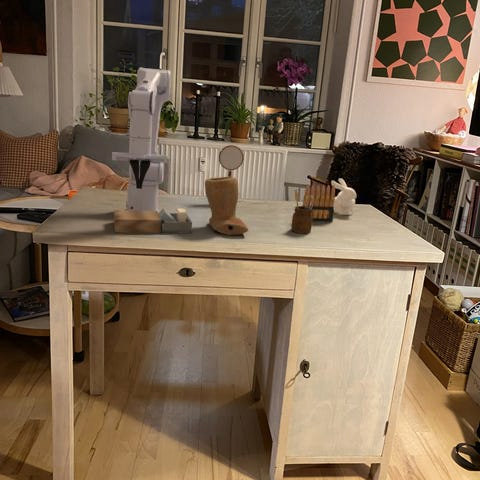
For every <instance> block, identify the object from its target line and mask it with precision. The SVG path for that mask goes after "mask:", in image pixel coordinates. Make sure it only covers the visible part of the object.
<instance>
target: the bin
mask: <svg viewBox="0 0 480 480" xmlns="http://www.w3.org/2000/svg"><path fill="white" fill-rule="evenodd" d="M168 213H169V214H170V215H171V216H173V217H174V218H175V220H176V222H166V221H163V220H162V219H161V233H162V234H192V230H193V221H192V220H191V218H190V217H189V215H188V213H187V214H186V222H177V212H168Z"/></svg>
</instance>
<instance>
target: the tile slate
mask: <svg viewBox="0 0 480 480" xmlns="http://www.w3.org/2000/svg"><path fill="white" fill-rule="evenodd" d="M169 213H170V212H168V211H167V210H166V209H165V208H162V209H161V210H159V216H160V218H161V219H162V220H163V221H166V222H176V220H175V218H174V217H173V216H171V215H170V214H169Z"/></svg>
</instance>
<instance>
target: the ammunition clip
mask: <svg viewBox="0 0 480 480" xmlns="http://www.w3.org/2000/svg"><path fill="white" fill-rule="evenodd" d="M330 187H331V186H330V185H329V184H328V185H327V187H325V184H323V185H322V186H321V188H320V184H318V185H317V186H316V190H315V184H314V183H313V184H312V185H311V187H310V184H309V183H307V184H306V187H305V191H304V196H303V202H302V205H301V206H305V204H306V207H310V208H311V207H312V217H313V220H312V223H333V221H334V213H335V212H334V210H335V208H334V200H335V197H336V196H335V195H336V194H335V193H336V188H335V186H334V185H333V186H332V187H331V188H330ZM310 188H311V189H310ZM320 189H321V190H320ZM308 196H309V197H308ZM312 196H313V197H314V198H312ZM306 200H307V201H306ZM311 201H312V203H311ZM313 202H314V203H313ZM307 204H308V205H307ZM310 204H311V206H310ZM312 205H313V206H312Z"/></svg>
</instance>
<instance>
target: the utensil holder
mask: <svg viewBox="0 0 480 480" xmlns="http://www.w3.org/2000/svg"><path fill="white" fill-rule="evenodd" d="M298 193H299V192H298V189H297V188H296V189H295V190H294V199H295V201H296V206H295V208H294V212H293V214H292V217H291V226H290V227H291V228H290V229H291V231H292V232H294V233H296V234H309V233H311V231H312V226H313V222H312V220H313V217H312V207H311V208H310V207H306V204H305V206H302V205H299V194H298ZM309 196H310V195H309ZM309 196H308V197H309ZM314 197H315V196H314ZM314 197H313V196H312V198H314ZM306 201H307V200H306ZM311 203H312V201H311ZM313 203H314V202H313ZM307 205H308V204H307ZM310 206H311V204H310ZM312 206H313V205H312Z"/></svg>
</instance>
